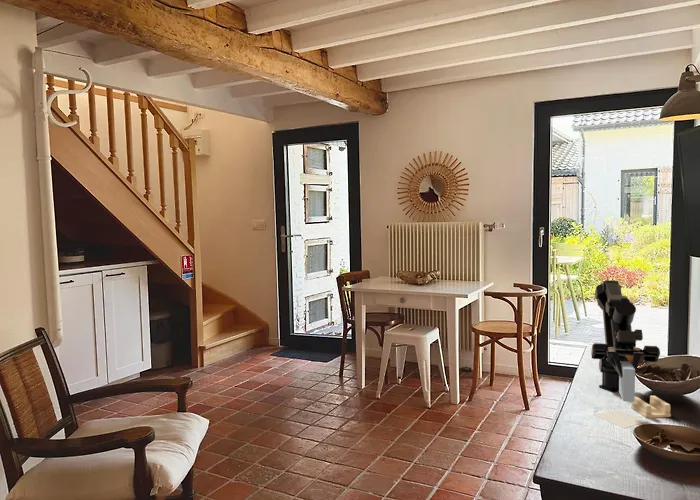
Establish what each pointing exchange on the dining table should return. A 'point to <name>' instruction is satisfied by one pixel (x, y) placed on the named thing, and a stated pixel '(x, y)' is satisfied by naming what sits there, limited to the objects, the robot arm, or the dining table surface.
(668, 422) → the dining table surface
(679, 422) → the dining table surface
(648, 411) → the rack
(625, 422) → the mat
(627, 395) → the pale grey upright block
